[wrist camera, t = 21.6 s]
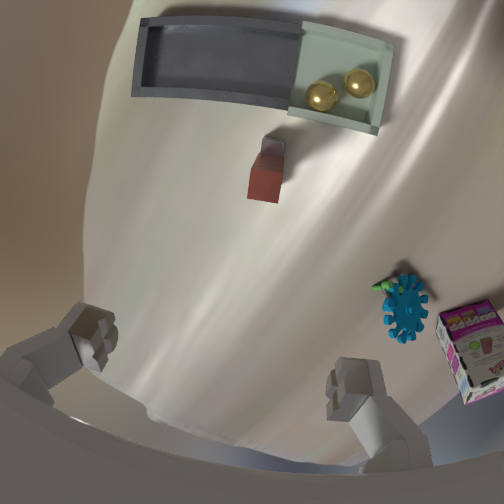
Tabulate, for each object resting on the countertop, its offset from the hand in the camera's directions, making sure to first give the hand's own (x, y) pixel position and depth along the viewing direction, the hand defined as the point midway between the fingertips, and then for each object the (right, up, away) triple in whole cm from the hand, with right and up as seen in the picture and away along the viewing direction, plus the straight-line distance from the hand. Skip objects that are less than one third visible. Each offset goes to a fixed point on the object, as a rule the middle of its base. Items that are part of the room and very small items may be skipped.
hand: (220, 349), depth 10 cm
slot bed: (-3, +25, +19) cm, 32 cm away
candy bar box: (+38, -8, +33) cm, 51 cm away
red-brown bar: (+3, +14, +25) cm, 29 cm away
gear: (+23, -2, +32) cm, 40 cm away
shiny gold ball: (+13, +22, +18) cm, 31 cm away
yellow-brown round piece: (+9, +21, +18) cm, 29 cm away
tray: (+10, +23, +19) cm, 31 cm away
